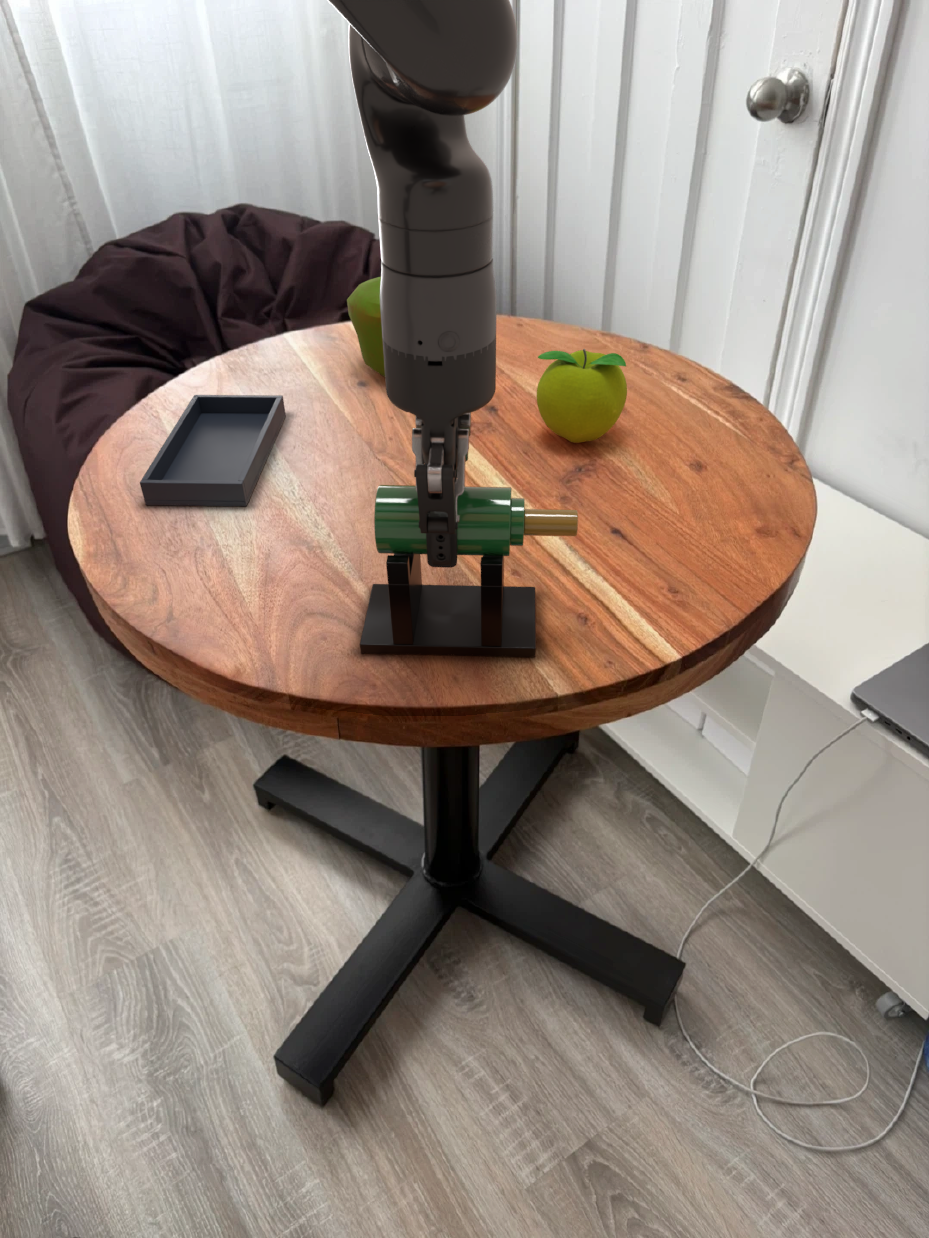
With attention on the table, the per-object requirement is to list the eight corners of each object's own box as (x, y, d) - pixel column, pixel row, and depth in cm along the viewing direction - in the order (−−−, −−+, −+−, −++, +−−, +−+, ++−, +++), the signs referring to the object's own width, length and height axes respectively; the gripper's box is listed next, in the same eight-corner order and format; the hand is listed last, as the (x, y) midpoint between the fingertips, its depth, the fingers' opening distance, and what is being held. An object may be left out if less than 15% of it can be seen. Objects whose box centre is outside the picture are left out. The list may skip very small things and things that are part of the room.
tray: (246, 506, 91) (242, 483, 90) (145, 505, 92) (139, 482, 90) (286, 416, 106) (282, 395, 104) (198, 415, 106) (194, 394, 105)
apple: (473, 361, 117) (472, 271, 109) (418, 399, 109) (413, 304, 101) (392, 341, 122) (386, 254, 115) (335, 376, 114) (324, 284, 107)
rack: (360, 653, 74) (349, 562, 68) (373, 592, 80) (364, 504, 74) (535, 657, 73) (539, 566, 67) (535, 595, 79) (538, 506, 74)
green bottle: (377, 567, 70) (372, 510, 67) (385, 527, 74) (381, 471, 70) (576, 571, 69) (580, 514, 66) (573, 531, 73) (578, 475, 70)
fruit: (606, 464, 96) (614, 374, 90) (523, 446, 99) (526, 358, 93) (633, 426, 103) (642, 339, 96) (555, 410, 106) (559, 325, 99)
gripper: (394, 289, 66) (406, 492, 77) (367, 374, 55) (385, 598, 66) (499, 290, 66) (496, 494, 77) (492, 376, 55) (490, 601, 65)
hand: (445, 541), depth 71 cm, fingers closed on green bottle, 5 cm apart
